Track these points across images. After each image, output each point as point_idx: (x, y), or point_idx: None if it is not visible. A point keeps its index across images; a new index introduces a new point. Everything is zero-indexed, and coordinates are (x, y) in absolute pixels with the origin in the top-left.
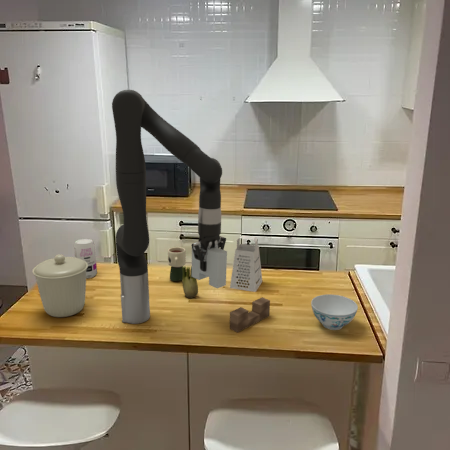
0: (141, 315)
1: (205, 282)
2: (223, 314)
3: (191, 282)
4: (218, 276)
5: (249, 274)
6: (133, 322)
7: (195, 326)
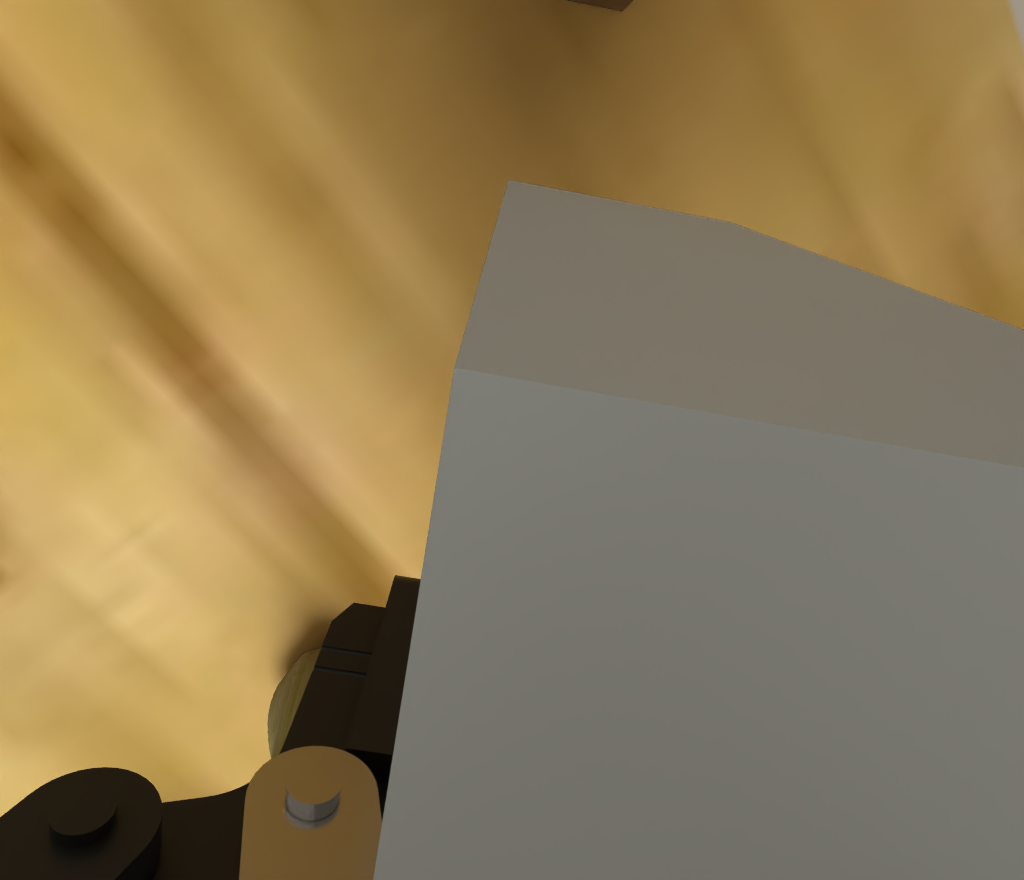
0: None
1: (55, 742)
2: (420, 251)
3: None
4: (780, 244)
5: None
6: None
7: None
